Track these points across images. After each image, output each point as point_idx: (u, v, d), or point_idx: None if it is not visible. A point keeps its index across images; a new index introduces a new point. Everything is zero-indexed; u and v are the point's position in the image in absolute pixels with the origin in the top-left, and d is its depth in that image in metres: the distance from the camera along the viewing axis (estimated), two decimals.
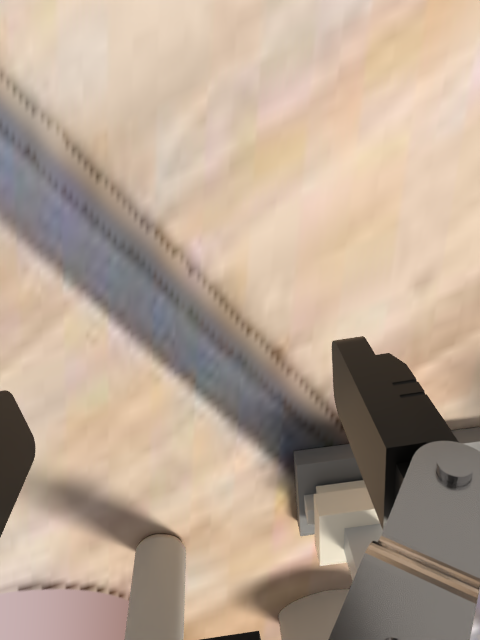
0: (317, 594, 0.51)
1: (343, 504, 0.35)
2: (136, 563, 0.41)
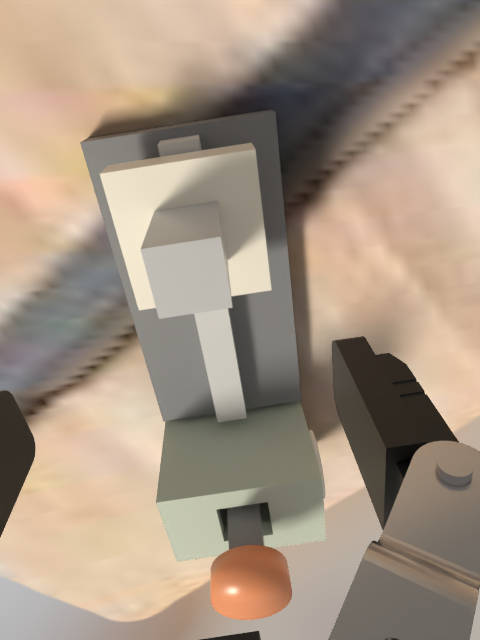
0: None
1: None
2: None
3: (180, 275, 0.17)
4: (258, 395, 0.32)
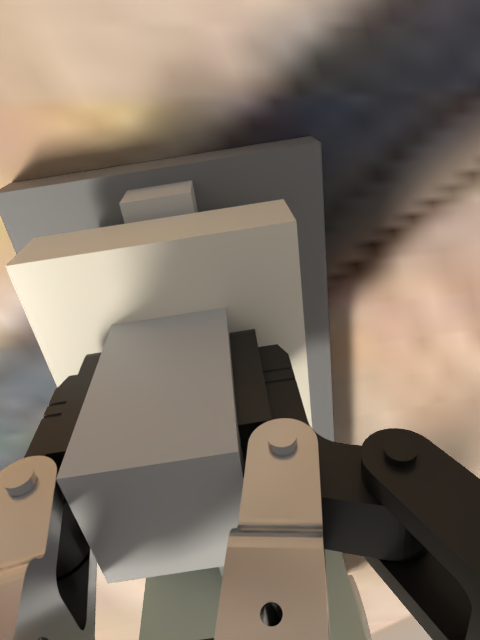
0: None
1: None
2: None
3: (150, 518, 0.08)
4: None
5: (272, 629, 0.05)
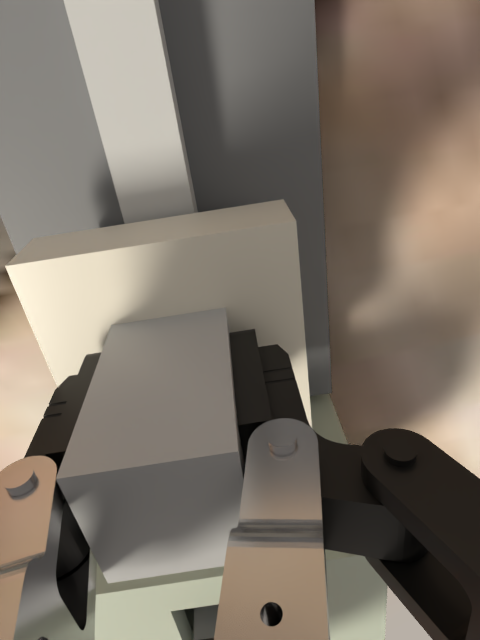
0: None
1: None
2: None
3: (149, 518, 0.08)
4: None
5: (272, 629, 0.05)
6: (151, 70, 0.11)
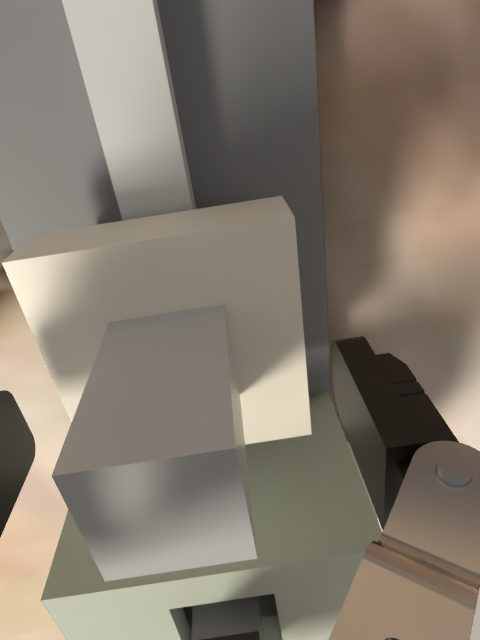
0: None
1: None
2: None
3: (147, 516, 0.08)
4: None
5: None
6: (148, 64, 0.11)
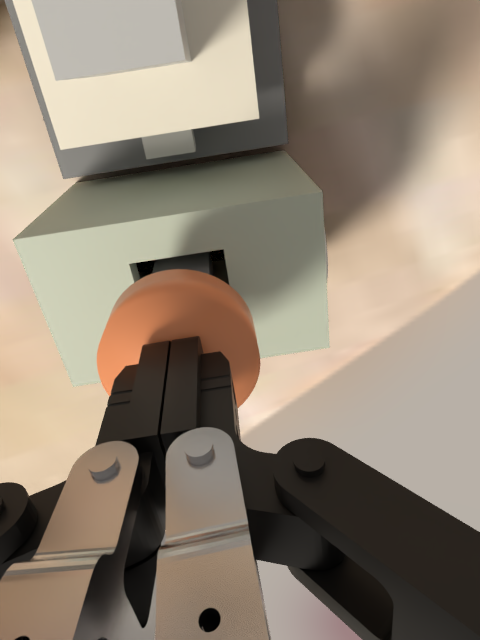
0: None
1: None
2: None
3: None
4: (217, 128, 0.19)
5: (212, 634, 0.05)
6: None
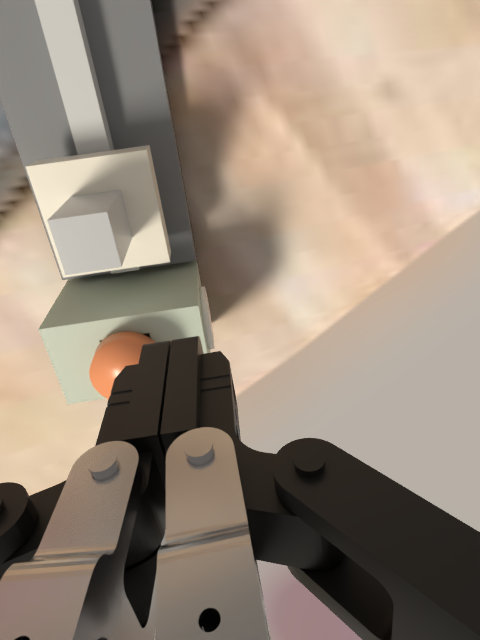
0: None
1: (154, 183, 0.28)
2: None
3: (79, 241, 0.23)
4: None
5: (212, 634, 0.05)
6: (87, 86, 0.26)
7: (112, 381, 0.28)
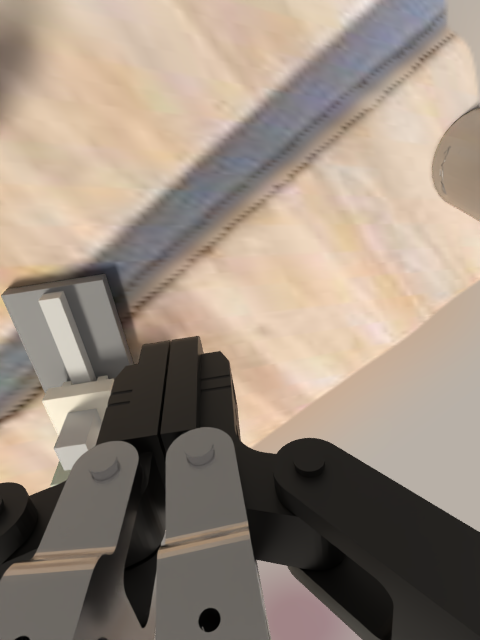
0: None
1: None
2: None
3: (71, 456, 0.43)
4: None
5: (212, 634, 0.05)
6: (76, 353, 0.46)
7: None
